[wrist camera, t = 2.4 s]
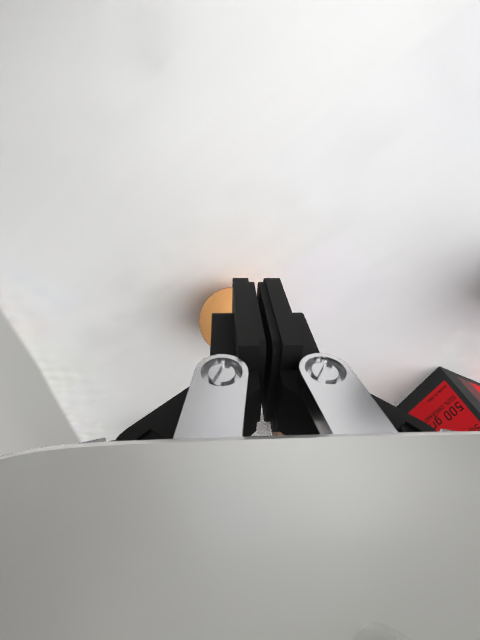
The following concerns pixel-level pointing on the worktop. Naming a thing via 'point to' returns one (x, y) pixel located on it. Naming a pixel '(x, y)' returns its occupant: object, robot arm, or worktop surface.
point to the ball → (214, 310)
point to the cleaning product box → (445, 402)
